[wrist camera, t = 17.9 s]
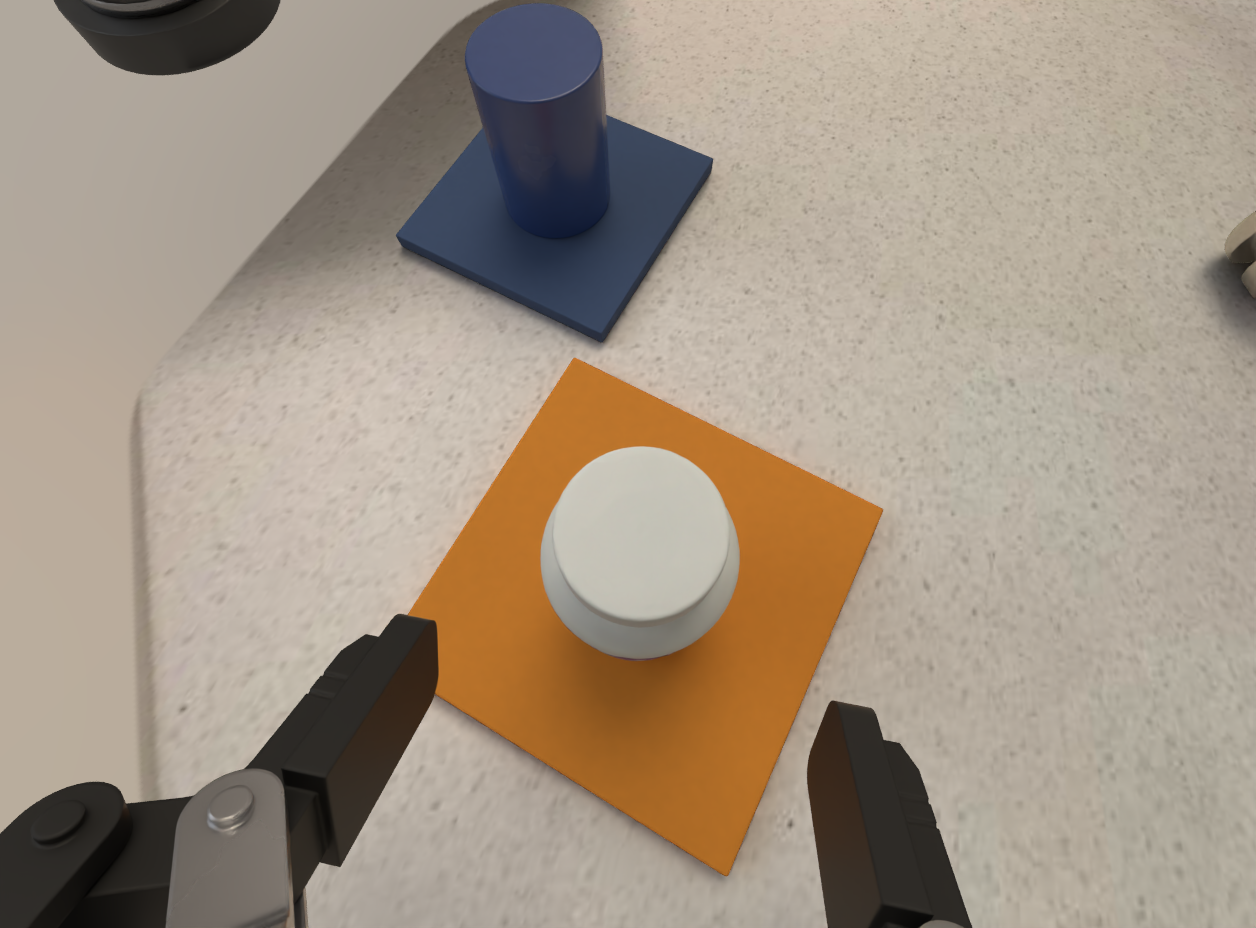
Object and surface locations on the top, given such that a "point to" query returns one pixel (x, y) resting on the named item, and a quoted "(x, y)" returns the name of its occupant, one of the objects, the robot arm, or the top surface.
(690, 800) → the amber mat
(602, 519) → the pill bottle
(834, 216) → the top surface
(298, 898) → the robot arm
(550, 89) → the blue tin
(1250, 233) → the grooved metal pulley
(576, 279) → the blue mat
